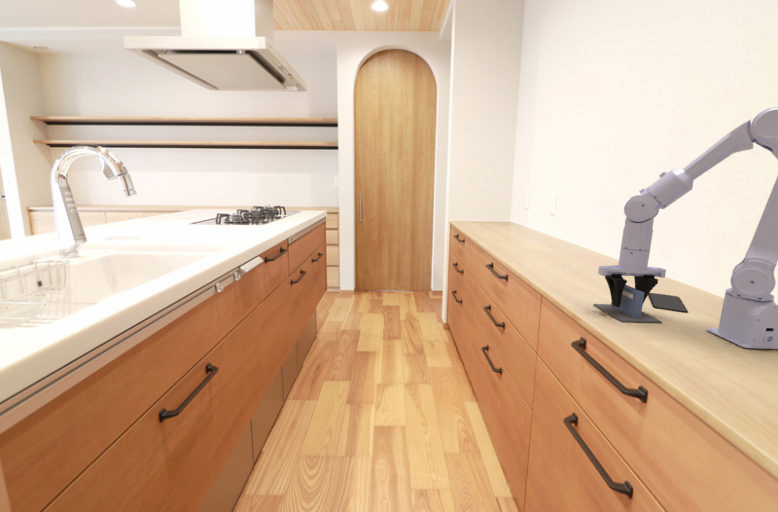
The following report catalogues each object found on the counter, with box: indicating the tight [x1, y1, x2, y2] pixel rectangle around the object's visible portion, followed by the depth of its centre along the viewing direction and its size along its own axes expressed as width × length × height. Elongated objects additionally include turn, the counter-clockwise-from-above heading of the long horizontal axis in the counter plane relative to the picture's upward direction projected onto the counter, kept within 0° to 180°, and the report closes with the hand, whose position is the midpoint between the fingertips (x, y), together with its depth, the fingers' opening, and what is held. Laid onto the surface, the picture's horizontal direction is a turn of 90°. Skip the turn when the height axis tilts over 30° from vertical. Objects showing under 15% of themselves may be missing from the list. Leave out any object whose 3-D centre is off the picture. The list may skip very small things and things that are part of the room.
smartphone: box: [647, 292, 689, 314], centre depth 105 cm, size 7×1×15 cm
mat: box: [593, 303, 663, 324], centre depth 94 cm, size 12×9×1 cm
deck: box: [610, 284, 644, 318], centre depth 94 cm, size 9×2×6 cm, turn 1°
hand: (626, 306), depth 94 cm, fingers open, 5 cm apart
